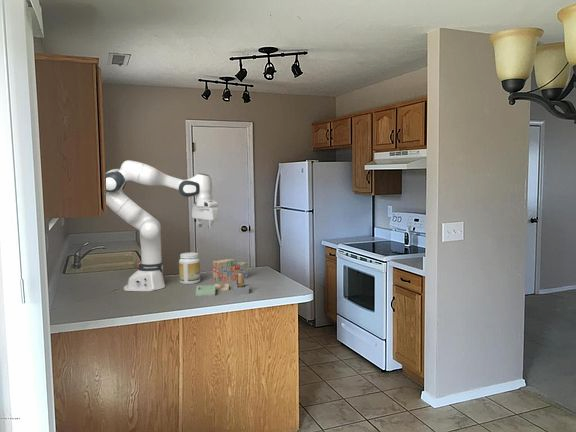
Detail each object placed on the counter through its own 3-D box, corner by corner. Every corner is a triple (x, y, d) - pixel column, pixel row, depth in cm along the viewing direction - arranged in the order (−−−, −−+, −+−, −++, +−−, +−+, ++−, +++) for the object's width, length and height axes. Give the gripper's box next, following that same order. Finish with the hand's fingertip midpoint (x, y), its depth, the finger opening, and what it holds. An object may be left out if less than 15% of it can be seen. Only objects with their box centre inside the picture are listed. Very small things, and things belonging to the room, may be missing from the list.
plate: (214, 291, 270) (213, 286, 270) (214, 288, 276) (214, 284, 276) (228, 290, 271) (228, 286, 271) (228, 287, 277) (228, 283, 277)
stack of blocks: (242, 276, 305) (242, 256, 304) (248, 277, 300) (248, 258, 299) (212, 281, 292) (212, 260, 291) (218, 283, 287) (217, 262, 286)
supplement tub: (202, 279, 295) (202, 252, 293) (197, 284, 283) (196, 256, 281) (183, 279, 296) (182, 252, 294) (176, 284, 284) (175, 255, 282)
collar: (234, 293, 262) (233, 288, 262) (234, 290, 270) (234, 284, 270) (249, 293, 263) (248, 288, 263) (248, 289, 271) (248, 284, 271)
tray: (195, 296, 258) (195, 290, 258) (197, 291, 268) (197, 285, 268) (215, 295, 259) (214, 289, 259) (215, 290, 269) (215, 285, 269)
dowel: (238, 292, 265) (238, 274, 264) (238, 291, 268) (238, 273, 267) (244, 292, 265) (244, 274, 264) (244, 290, 269) (244, 273, 267)
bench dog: (236, 289, 272) (236, 278, 271) (236, 287, 277) (236, 276, 276) (242, 289, 272) (242, 278, 272) (242, 287, 277) (241, 276, 277)
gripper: (188, 202, 277) (189, 226, 278) (210, 204, 262) (211, 229, 264) (197, 201, 281) (198, 225, 282) (220, 203, 267) (220, 228, 268)
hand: (204, 227), depth 273 cm, fingers open, 8 cm apart
